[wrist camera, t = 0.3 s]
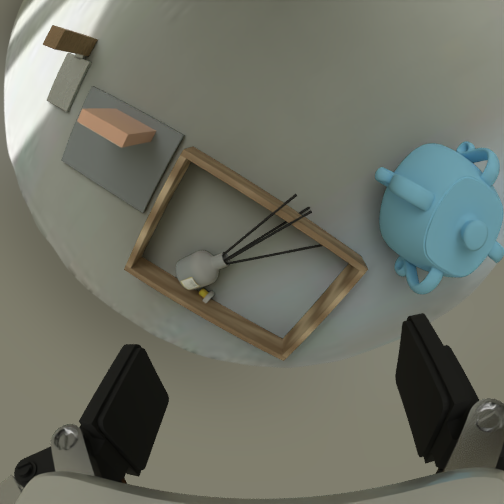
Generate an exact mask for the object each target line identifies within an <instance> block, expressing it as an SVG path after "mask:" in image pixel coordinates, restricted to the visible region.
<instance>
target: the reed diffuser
mask: <svg viewBox="0 0 504 504" xmlns="http://www.w3.org/2000/svg"><path fill="white" fill-rule="evenodd" d="M296 196H297V195H296V194H295V195H293V196H292V197H291V198H290V199H289V200H287V201H286V202H285V203H284V204H282V205H281V206H280V207H279V208H278V209H276V210H275V211H274V212H273V213H271V214H270V215H269V216H268V217H267V218H265V219H264V220H263V221H262V222H261V223H259V224H258V225H257V226H256V227H254V228H253V229H252V230H251V231H250V232H248V233H247V234H246V235H245V236H244V237H242V238H241V239H240V240H239V241H238V242H236V243H235V244H234V245H233V246H232V247H230V248H229V249H228V250H227V251H226V252H223V253H220V254H218V255H215V256H213V255H212V254H210V253H209V252H207V251H204V250H201V251H197V252H195V253H193V254H191V255H189V256H187V257H185V258H183V259H181V260H179V261H178V262H177V264H176V275H177V278H178V280H179V282H180V284H181V285H182V286H183V287H184V288H185V289H187V290H194V289H197V288H201V287H204V286H207V285H210V284H212V283H213V282H215V281H216V279H217V277H218V274H219V269H222V268H224V267H226V266H229V265H230V264H233V263H239V262H244V261H249V260H254V259H259V258H264V257H269V256H274V255H280V254H285V253H290V252H295V251H300V250H305V249H310V248H315V247H320V246H323V245H321V244H319V245H314V246H309V247H304V248H299V249H294V250H289V251H284V252H279V253H274V254H269V255H264V256H258V257H253V258H248V259H243V260H238V261H233V262H230V259H232V258H233V257H235V256H237V255H239V254H240V253H242V252H244V251H246V250H247V249H249V248H251V247H253V246H254V245H256V244H258V243H260V242H261V241H263V240H265V239H267V238H268V237H270V236H272V235H274V234H275V233H277V232H279V231H280V230H282V229H284V228H286V227H287V226H289V225H291V224H293V223H294V222H296V221H298V220H300V219H301V218H303V217H305V216H307V215H308V214H310V213H312V211H309V212H307V213H306V214H304V215H302V216H300V217H299V218H297V219H295V220H293V221H292V222H290V223H288V224H286V225H285V226H283V227H281V226H282V225H284V224H285V223H287V221H285V222H283V223H281V224H280V225H278V226H277V227H275V228H273V229H272V230H270V231H269V232H267V233H265V234H264V235H262V236H261V237H259V238H257V239H256V240H254V241H253V242H251V243H249V244H248V245H246V246H245V247H243V248H242V249H240V250H238V251H237V252H235V253H234V254H232V255H230V256H228V255H227V253H228V252H229V251H230V250H231V249H233V248H234V247H235V246H236V245H237V244H239V243H240V242H241V241H242V240H243V239H245V238H246V237H247V236H248V235H250V234H251V233H252V232H253V231H254V230H256V229H257V228H258V227H259V226H260V225H262V224H263V223H264V222H265V221H267V220H268V219H269V218H270V217H271V216H273V215H274V214H275V213H276V212H278V211H279V210H280V209H281V208H283V207H284V206H285V205H286V204H287V203H289V202H290V201H291V200H292V199H294V198H295V197H296ZM309 208H310V207H307V208H306V209H304V210H302V211H301V212H299V213H298V214H301V213H303V212H305V211H306V210H308V209H309ZM279 227H281V228H279ZM277 228H279V229H278V230H276V229H277ZM274 230H276V231H274ZM273 231H274V232H273ZM271 232H273V233H271ZM269 233H271V234H269ZM268 234H269V235H268ZM266 235H267V236H266ZM265 236H266V237H265ZM263 237H264V238H263ZM261 238H262V239H261ZM258 240H259V241H258ZM214 294H215V293H214V292H213V291H210V292H208V291H206V290H205V289H204V288H202V289H201V290H200V291H199V295H200V296H202V297H203V298H204V299H203V300H202V301H203V302H205V303H207V302H208V301H209V300H210V299H211V298H212V297H213V295H214Z"/></svg>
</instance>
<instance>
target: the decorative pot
mask: <svg viewBox="0 0 504 504" xmlns="http://www.w3.org/2000/svg"><path fill="white" fill-rule="evenodd" d="M484 160H488V162H487V166H486V168H485V170H484V171H483V173H482V172H481V171H480V170H479V169H478V168H477V167H476V166H475V165H474V164H473V163H475V162H479V161H484ZM499 169H500V164H499V160H498V158H497V156H496V154H495V153H494V152H493V151H491V150H490V149H488V148H477V149H475V147H474V145H473V144H472V143H470V142H467V141H466V142H463V143H461V144H460V145H459V147H458V148H457V150H456V151H454V150H452V149H450V148H448V147H446V146H443V145H440V144H435V143H430V144H425V145H422V146H420V147H418V148H416V149H415V150H414V151H412V152H411V153H410V154H409V155H408V156H407V157H406V158H405V159H404V160H403V161H402V162H401V164H400V165H399V166H398V167H397V169H396V170H395V172H392V171H390V170H388V169H385V168H383V167H380V168H379V169H378V170H377V171H376V174H375V179H376V180H377V181H378V182H380V183H381V184H383V185H385V186H386V190H385V193H384V196H383V200H382V204H381V209H380V217H379V224H380V231H381V234H382V237H383V239H384V240H385V242H386V243H387V245H388V246H389V247H390V248H391V249H393V250H394V251H395V252H396V253H397V254H399V255H400V256H399V257H398V259H397V261H396V263H395V271H396V273H397V274H398V275H400V276H406V278H407V282H408V284H409V286H410V288H411V289H412V290H413V291H414V292H416V293H418V294H427V293H429V292H431V291H432V290H434V289H435V288H436V287H437V285H438V284H439V282H440V281H441V279H442V277H443V276H446V277H465V276H467V275H469V274H471V273H472V272H473V271H474V270H476V269H477V268H478V267H479V265H480V264H481V263H482V262H483V261H484V259H485V258H486V257H487V255H488V256H489V257H490V258H491V259H492V260H494V261H495V262H496V263H497V262H499V261H500V260H501V259H502V258H503V256H504V248H503V247H502V246H501V245H500V244H499V243H498V242H497V241H496V239H497V237H498V234H499V231H500V228H501V225H502V220H503V206H502V203H501V201H500V198H499V196H498V194H497V192H496V191H495V189H494V187H493V186H492V185H493V184H494V182H495V180H496V179H497V177H498V174H499ZM416 267H418V268H421V269H423V270H425V271H428V272H429V273H428V275H427V276H426V278H425V279H424V280H423V281H422V282H421V283H419V280H418V275H417V270H416Z"/></svg>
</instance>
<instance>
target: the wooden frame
mask: <svg viewBox="0 0 504 504" xmlns="http://www.w3.org/2000/svg"><path fill="white" fill-rule="evenodd" d="M191 162H193V163H194V164H196V165H198V166H199V167H201V168H203V169H204V170H206V171H208V172H209V173H211V174H212V175H214V176H216V177H217V178H219V179H221V180H222V181H224V182H225V183H227V184H229V185H230V186H232V187H233V188H235V189H237V190H238V191H240V192H241V193H243V194H245V195H246V196H248V197H249V198H251V199H253V200H254V201H256V202H257V203H259V204H260V205H262V206H264V207H265V208H267V209H268V210H270V211H271V212H274V211H275V210H276V209H278V208H279V207H280V206H281V205H282V204H284V203H283V202H281V201H280V200H278V199H277V198H275V197H274V196H272V195H271V194H269V193H267V192H266V191H264V190H263V189H261V188H260V187H258V186H257V185H255V184H253V183H252V182H250V181H249V180H247V179H246V178H244V177H242V176H241V175H239V174H238V173H236V172H234V171H233V170H231V169H229V168H228V167H226V166H225V165H223V164H221V163H220V162H218V161H216V160H215V159H213V158H211V157H210V156H208V155H206V154H205V153H203V152H201V151H200V150H198V149H196V148H195V147H190V148H186V149H184V150H183V151H182V153H181V155H180V157H179V158H178V160H177V162H176V164H175V166H174V168H173V169H172V171H171V173H170V175H169V177H168V179H167V181H166V183H165V184H164V186H163V188H162V190H161V192H160V194H159V196H158V198H157V200H156V202H155V204H154V206H153V208H152V210H151V212H150V214H149V216H148V218H147V220H146V222H145V224H144V227H143V229H142V231H141V233H140V235H139V237H138V239H137V242H136V244H135V246H134V248H133V250H132V253H131V255H130V257H129V259H128V262H127V264H126V266H125V269H124V270H126V271H127V272H129V273H130V274H132V275H133V276H135V277H136V278H138V279H140V280H141V281H143V282H144V283H146V284H147V285H149V286H151V287H152V288H154V289H155V290H157V291H159V292H160V293H162V294H164V295H165V296H167V297H169V298H170V299H172V300H173V301H175V302H177V303H179V304H180V305H182V306H184V307H185V308H187V309H189V310H190V311H192V312H194V313H196V314H197V315H199V316H201V317H202V318H204V319H206V320H208V321H209V322H211V323H213V324H215V325H217V326H218V327H220V328H222V329H224V330H226V331H227V332H229V333H231V334H233V335H235V336H237V337H238V338H240V339H242V340H244V341H246V342H248V343H250V344H252V345H253V346H255V347H257V348H259V349H261V350H263V351H265V352H267V353H269V354H271V355H273V356H275V357H277V358H279V359H281V360H283V361H284V360H285V359H286V358H287V357H288V356H289V355H290V354H291V353H292V352H293V351H294V350H295V349H296V348H297V347H298V346H299V345H300V344H301V343H302V342H303V341H304V340H305V339H306V338H307V337H308V336H309V335H310V334H311V333H312V332H313V330H314V329H315V328H316V327H317V326H318V325H319V324H320V323H321V322H322V321H323V320H324V319H325V318H326V317H327V316H328V314H329V313H330V312H331V311H332V310H333V309H334V308H335V307H336V306H337V305H338V303H339V302H340V301H341V300H342V299H343V298H344V297H345V296H346V294H347V293H348V292H349V291H350V290H351V289H352V288H353V287H354V285H355V284H356V283H357V282H358V281H359V280H360V278H361V277H362V276H363V275H364V274H365V273H366V271H367V270H368V268H367V266H366V264H365V262H364V261H363V259H362V257H361V256H360V255H359V254H357V253H356V252H354V251H353V250H352V249H350V248H349V247H347V246H346V245H345V244H343V243H342V242H340V241H339V240H337V239H336V238H335V237H333V236H332V235H330V234H329V233H327V232H326V231H325V230H323V229H322V228H320V227H319V226H317V225H316V224H314V223H313V222H311V221H310V220H308V219H307V218H305V217H303V218H301V219H300V220H298V221H296V222H294V223H293V224H291V225H293V226H294V227H296V228H297V229H299V230H300V231H302V232H303V233H305V234H306V235H308V236H309V237H311V238H312V239H314V240H315V241H317V242H318V243H320V244H321V245H323V246H324V247H326V248H327V249H329V250H330V251H332V252H333V253H335V254H336V255H338V256H339V257H341V258H342V259H343V260H345V261H346V262H348V263H349V264H348V265H347V266H346V267H345V268H344V270H343V271H342V272H341V273H340V274H339V276H338V277H337V278H336V279H335V280H334V282H333V283H332V284H331V285H330V286H329V287H328V289H327V290H326V291H325V292H324V293H323V294H322V296H321V297H320V298H319V299H318V300H317V301H316V302H315V304H314V305H313V306H312V307H311V308H310V309H309V310H308V311H307V313H306V314H305V315H304V316H303V317H302V318H301V319H300V320H299V321H298V323H297V324H296V325H295V326H294V327H293V328H292V329H291V330H290V331H289V332H288V333H287V335H286V336H285V337H284V338H283V339H282V338H280V337H278V336H276V335H275V334H273V333H271V332H269V331H267V330H265V329H264V328H262V327H260V326H258V325H256V324H255V323H253V322H251V321H249V320H247V319H246V318H244V317H242V316H240V315H238V314H237V313H235V312H233V311H231V310H230V309H228V308H226V307H224V306H223V305H221V304H219V303H217V302H216V301H214V300H212V299H210V300H209V301H208V302H207V303H205V302H203V301H202V300H203V299H204V298H203V297H202V296H200V295H199V291H197V290H195V289H194V290H187V289H185V288H184V287H183V286H182V285H181V284H180V282H179V280H178V279H177V278H176V277H174V276H172V275H171V274H169V273H167V272H166V271H164V270H163V269H161V268H159V267H158V266H156V265H155V264H153V263H151V262H150V261H148V260H147V259H145V258H143V257H142V255H143V253H144V251H145V249H146V246H147V244H148V242H149V240H150V238H151V236H152V234H153V232H154V230H155V228H156V226H157V224H158V222H159V220H160V218H161V216H162V214H163V213H164V211H165V209H166V207H167V205H168V203H169V201H170V199H171V197H172V195H173V194H174V192H175V190H176V188H177V186H178V184H179V183H180V181H181V179H182V177H183V175H184V174H185V172H186V170H187V168H188V166H189V165H190V163H191ZM275 214H276V215H278V216H279V217H281V218H282V219H284V220H285V221H287V222H288V223H290V222H292V221H293V220H295V219H297V218H299V217H300V216H302V215H301V214H298V212H296V211H295V210H293V209H292V208H290V207H289V206H287V205H285V206H284V207H283V208H281V209H280V210H279V211H278V212H276V213H275Z"/></svg>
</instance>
